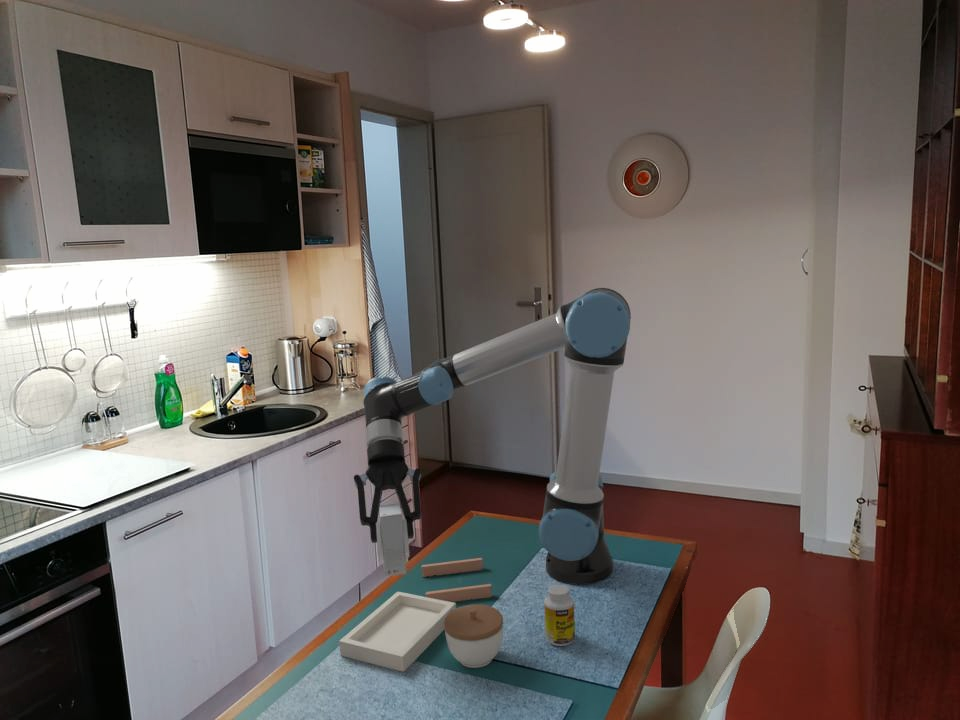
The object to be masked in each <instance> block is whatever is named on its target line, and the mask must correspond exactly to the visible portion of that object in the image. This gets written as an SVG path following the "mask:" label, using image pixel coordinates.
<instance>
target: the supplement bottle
mask: <svg viewBox="0 0 960 720" xmlns="http://www.w3.org/2000/svg"><path fill="white" fill-rule="evenodd" d="M543 601H544V603H543V604H544V607H543V608H544V624H545V625H544V627H545V639H546V641H547V642H548V643H549V644H550V645H553V646H556V647H565V646H569V645H571V644H572V643H573V642H574V641H575V639H576V625H575V624H576V623H575V622H576V621H575V600H574V598H573V597H572V596H571V593H570V588H569V586H567V585H564V584H553V585H550V586H549V587H548V588H547V596H546V597H545V598H544V600H543Z"/></svg>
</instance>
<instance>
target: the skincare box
mask: <svg viewBox="0 0 960 720" xmlns="http://www.w3.org/2000/svg"><path fill="white" fill-rule="evenodd" d="M378 515H379V522H380V527H381V541H382V555H383V560H382V564H383V565H382V566H383V570H384V571H383V572H384V576H385V577H390V576H397V575H406V574H407V572H408V571H407V562H406V561H407V560H406V557H405V545H404V533H403V511H402V508H401V505H400V503H393V504H385V505H384V504H383V505H380V506H379V514H378Z"/></svg>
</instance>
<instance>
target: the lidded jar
mask: <svg viewBox="0 0 960 720" xmlns="http://www.w3.org/2000/svg"><path fill="white" fill-rule="evenodd" d="M503 627H504V617H503V615H502V613H501V612H500V611H499V610H498V609H497V608H495V607H492V606H490V605H486V604H468V605H463V606H460V607H456V609H454V610H453V611H451V612H450V613H449V614H448V615H447V616H446V617H445V619H444V628H445V629H444V634H445V640H446V644H447V646H448V650H449V651H450V653H451V655H452V656H453V657H454V658H455V659H456V660H457V662H459V663H460V664H461V665H462V666H463V667H466V668H469V669H479V668H483V667H485V666H488V665H489V664H490V663H491V662H492V661H493V659H494V658H495V657H496V656H497V655H498V653H499V651H500V649H501V647H502V643H503V637H504V628H503Z"/></svg>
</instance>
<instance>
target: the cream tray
mask: <svg viewBox="0 0 960 720" xmlns="http://www.w3.org/2000/svg"><path fill="white" fill-rule="evenodd" d="M454 609H457V603H456V602H448V601H443V600H438V599H433V598H428V597H426V596H422V595H417V594H412V593H407V592H401V591H396V592H395V593H394V594H393V595H392V596H391V597H390V598H388V599H387V600H386V601H384V602H383V603H382V604H381V605H379V607H377V608H376V609H375V610H374V611H373V612H371V613H370V614H369V615H368V616H367V617H366V618H364V619H363V620H362V621H361V622H360V623H358V624H357V625H356V626H355V627H354V628H353V629H351V630H350V631H349V632H348V633H347V634H345V635H344V636H343V637H342V638H341V639H340V640H338V646H339V653H340V655H339V656H341V657H345V658H347V659H352V660H355V661H360V662H363V663H368V664H370V665H371V664H372V665H374V666H375V665H376V666H379V667H382V668H387V669H391V670H395V671H399V672H403V673H404V672H405V671H406V670H407V669H409V667H410V666H411V665H412V664H413V663H414V662H415V661H416V660H417V659H418V658H419V657H420V655H421V654H423V653H424V651H425V650H426V649H428V647H429V646H430V645H431V644H432V643H434V641H435V640H436V639H437V638H438V637H439V636H440V635H441V633H442V632H443V631H445V628H444V619H445V617H446V616H447V615H448V614H449V613H450V612H451V611H453V610H454Z"/></svg>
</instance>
